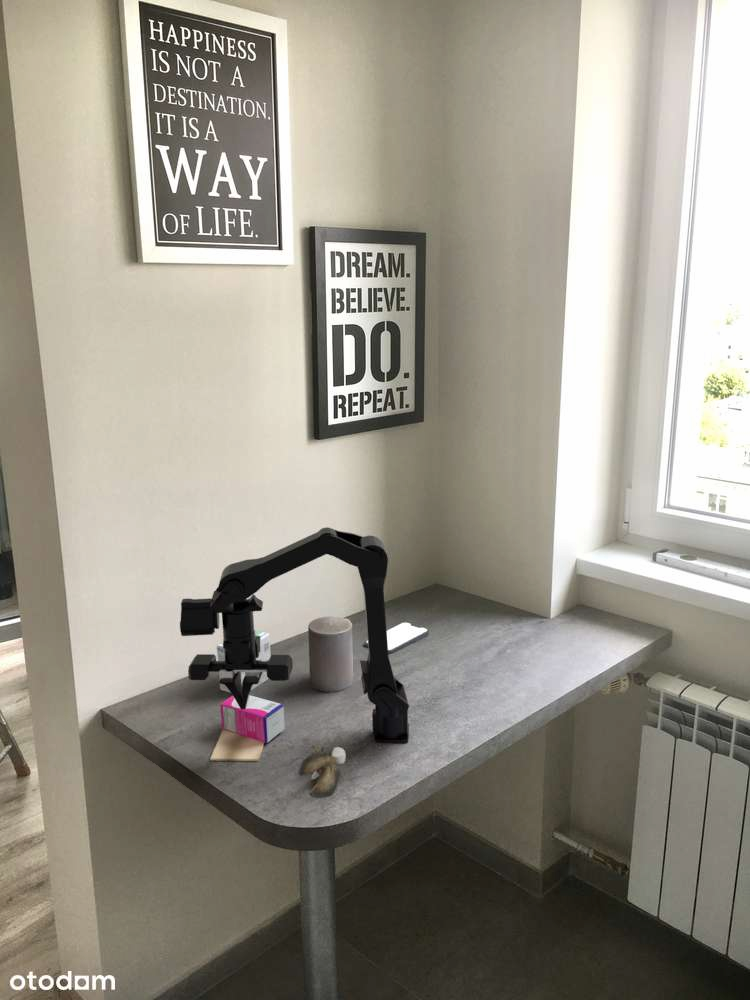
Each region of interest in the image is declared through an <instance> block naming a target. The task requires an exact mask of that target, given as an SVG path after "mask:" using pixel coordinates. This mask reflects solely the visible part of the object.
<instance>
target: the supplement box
mask: <svg viewBox="0 0 750 1000" xmlns="http://www.w3.org/2000/svg"><path fill="white" fill-rule="evenodd" d="M284 707H285V706H284V704H283V703H282V704H281V703H279V702H275V701H272V700H269V699H268V700H267V699H265V698H261V697H257V696H254V695H249V698H248V702H247V706H246V709H241V708H240V707H239V705H238V703H237V702H236V700H235V698H234V697H233V695H232V696H230V697H228V698H227V699H225V700H224V701H223V702H221V703H220V704H219V708H220V716H221V717H220V718H221V729H222V730H223V729H224V730H227V731H231V732H234V733H237V734H240V735H243V736H247V737H250V738H253V739H256V740H259V741H262V742H265V743H266V744H268V743H269V742H271V740H273V739H274V738H275V737H277V735H279V734H281V733H282V732H284V731H285V728H286V727H285V708H284Z"/></svg>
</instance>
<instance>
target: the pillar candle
mask: <svg viewBox="0 0 750 1000" xmlns="http://www.w3.org/2000/svg"><path fill="white" fill-rule="evenodd" d="M307 628H308V629H307V630H308V657H309V659H308V660H309V662H308V663H309V684H310V686H311V687H312V688H313V689H315V690H317V691H320V692H325V693H329V692H330V693H332V692H340V691H345V690H346V689H349V687H351V686H352V684H353V681H354V670H353V669H354V668H353V665H354V664H353V662H354V661H353V659H354V658H353V623H352V622H351V621H350V619H348V618H344V617H341V616H332V615H331V616H328V615H327V616H321V617H318V618H315V619H313V620H311V621H309V623H308V626H307Z"/></svg>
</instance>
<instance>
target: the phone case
mask: <svg viewBox="0 0 750 1000" xmlns="http://www.w3.org/2000/svg"><path fill="white" fill-rule="evenodd" d="M429 635H430V630H429V629H428V628H425V627H422V626H420V625H417V624H414V623H411V622H401V623H399V624H397V625H395V626H393V627H391V628H389V629H387V642H388V655H392V654H395V653H397V652H398V651H400V650H403V649H404V648H406V647H408V646H411V645H412V644H414V643H417V642H419V641H420V640H422V639H424V638H427V637H428V636H429ZM364 647H365V648H367V649H368V639H367V640H365V641H364Z"/></svg>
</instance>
